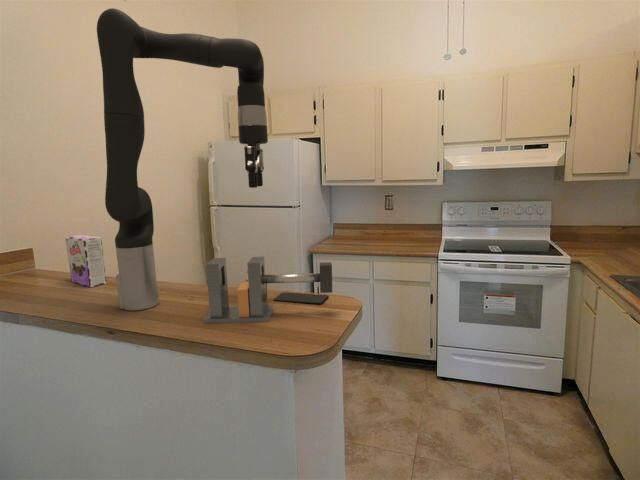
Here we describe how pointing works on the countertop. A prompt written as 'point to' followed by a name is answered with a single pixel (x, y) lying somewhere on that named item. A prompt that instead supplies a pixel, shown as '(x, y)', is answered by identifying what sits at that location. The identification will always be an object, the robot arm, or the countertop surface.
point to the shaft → (305, 278)
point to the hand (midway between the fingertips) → (256, 186)
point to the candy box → (86, 260)
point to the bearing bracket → (220, 299)
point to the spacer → (244, 300)
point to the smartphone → (301, 298)
